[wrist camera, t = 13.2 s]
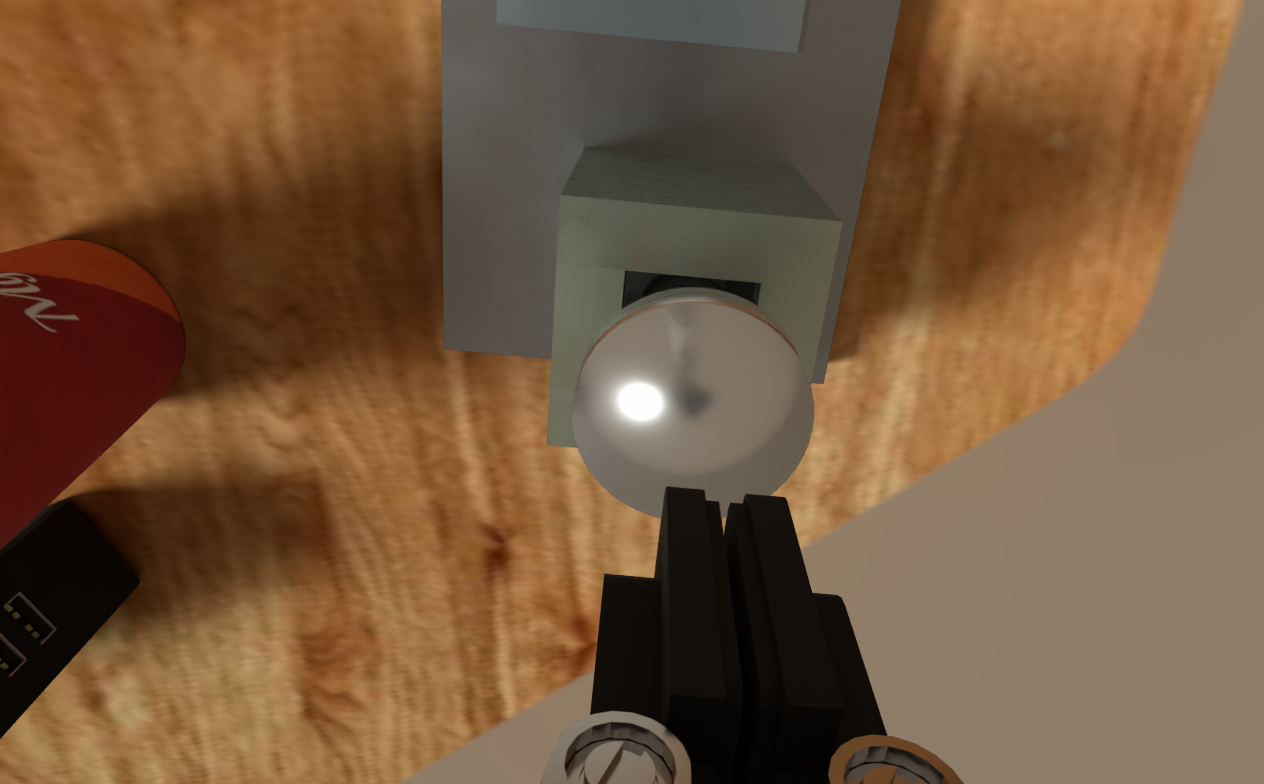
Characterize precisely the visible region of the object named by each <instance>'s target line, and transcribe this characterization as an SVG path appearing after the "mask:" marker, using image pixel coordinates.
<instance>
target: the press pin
mask: <svg viewBox="0 0 1264 784" xmlns="http://www.w3.org/2000/svg"><path fill="white" fill-rule="evenodd" d="M813 420H814V401H813V395H812V389H811V386H810V383H809V379H808V376H807V374H806V371H805V369H804V366H803V364H802V362H801V359H800V357H799V354H798V352H797V350H796V348H795V346H794V344H793V342H792V340H791V339H790V337H789V336H788V334H787V333H786V332H785V330H784V329H783V328H782V327H781V325H780V324H779V323H778V322H777V321H776V320H775V319H774V318H773V317H772V316H771V315H769V314H768V313H767V312H766V311H764V310H763V309H762V308H760V307H759V306H757V305H755V304H754V303H752V302H750V301H749V300H746V299H744V298H742V297H739V296H737V295H735V294H731V293H728V292H725V291H722V289H721V288H720V286H719V285H718V284H717V283H716V282H715V281H714V280H713V279H712V278H701V277H690V276H680V275H669V274H661V275H659V276H657V277H656V278H655V279H653V280H652V281H651V282H650V283H649V284H648V286H647V287H646V288H645V290H644V291H643V294H642V296H641V298H640V299H639V300H637V301H635V302H633V303H631V304H629V305H628V306H626V307H625V308H624V309H622V310H621V311H619V312H618V313H616V314H615V315H614V316H613V317H612V318H611V319H610V320H609V321H608V322H606V323H605V325H604V326H603V327H602V328H601V329H600V330H599V332H598V333H597V334H596V336H595V337H594V339H593V340H592V342H591V343H590V345H589V347H588V349H587V351H586V353H585V355H584V358H583V360H582V364H581V367H580V370H579V374H578V379H577V384H576V388H575V393H574V400H573V407H572V424H573V430H574V437H575V440H576V443H577V447H578V450H579V452H580V454H581V456H582V459H583V461H584V463H585V464H586V466H587V467H588V469H589V471H590V472H591V474H592V475H593V476H594V477H595V478H596V480H597V481H598V482H599V483H600V484H601V485H602V486H603V487H604V488H605V489H606V490H607V491H608V492H609V493H610V494H612V495H613V496H614V497H616V498H617V499H619V500H620V501H621V502H623V503H625V504H626V505H628V506H630V507H632V508H634V509H636V510H638V511H641V512H643V513H646V514H648V515H652V516H655V517H659V518H661V517H662V509H663V500H664V493H665V488H666V486H670V487H680V488H691V489H702V490H705V495H706V500H710V501H719V504H720V511H721V518H724V517H727V512H728V507H729V504H730V502H732V503H743V499H744V496H745V495H746V494H756V495H767V496H770V495H771V494H772V493H774V492H775V491H776V490H777V489H778V488H779V487H780V486H781V485H782V484H784V483H785V482H786V481H787V479H788V478H789V477H790V476H791V474H792V473H793V472H794V471H795V469H796V468H797V466H798V464H799V463H800V461H801V459H802V458H803V456H804V453H805V451H806V449H807V446H808V444H809V440H810V437H811V433H812V428H813Z"/></svg>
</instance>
